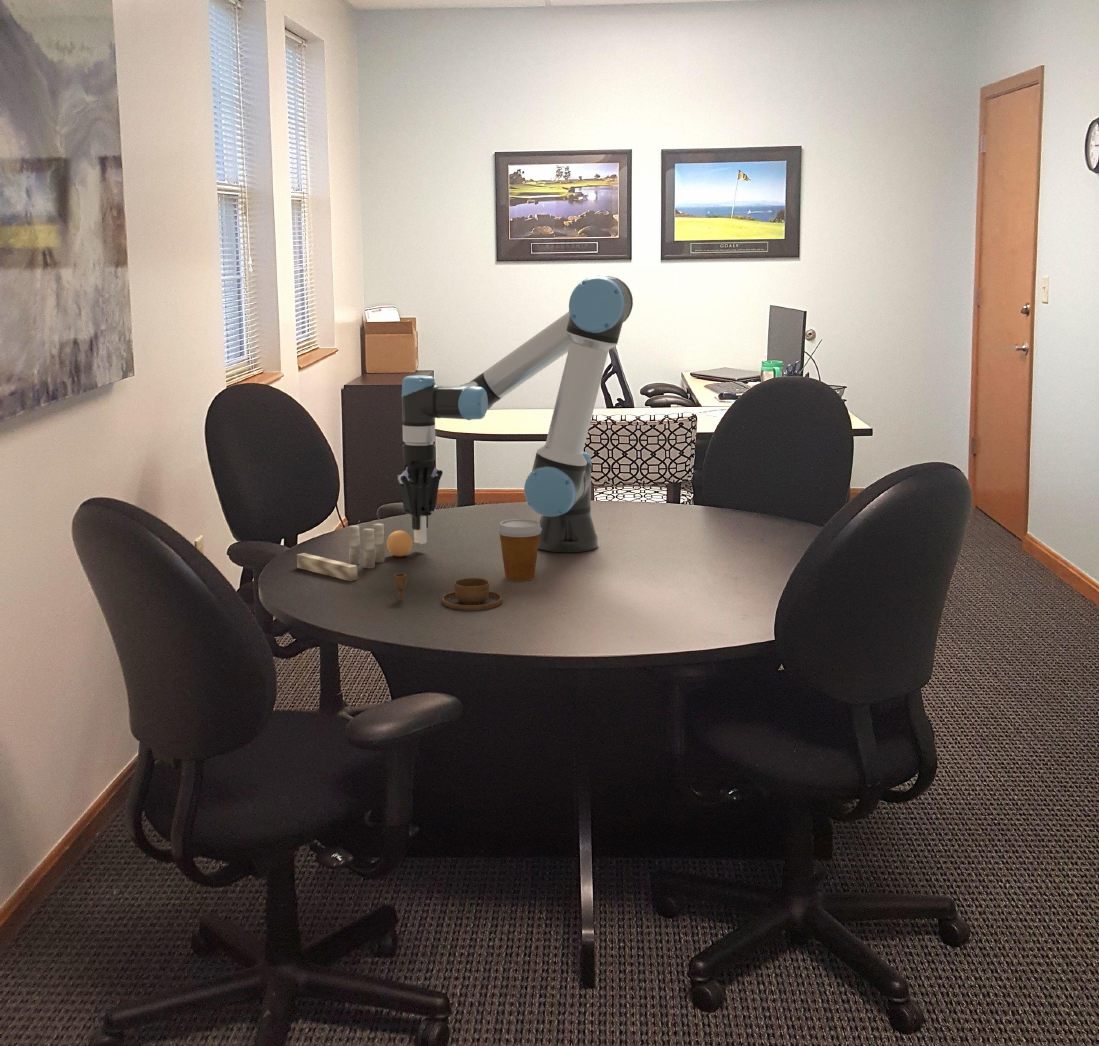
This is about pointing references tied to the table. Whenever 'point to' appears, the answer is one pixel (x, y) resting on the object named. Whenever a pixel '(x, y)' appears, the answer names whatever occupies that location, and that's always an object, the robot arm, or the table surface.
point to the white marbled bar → (327, 566)
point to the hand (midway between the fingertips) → (420, 542)
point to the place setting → (461, 593)
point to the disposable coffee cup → (519, 548)
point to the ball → (399, 543)
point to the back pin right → (354, 545)
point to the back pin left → (368, 548)
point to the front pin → (379, 542)
